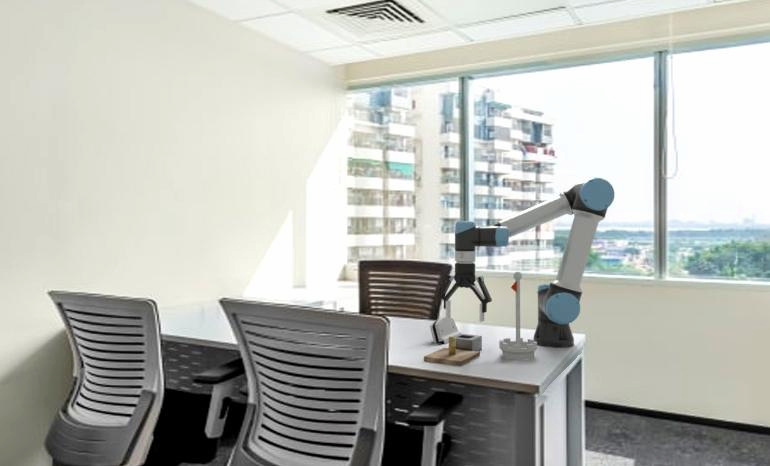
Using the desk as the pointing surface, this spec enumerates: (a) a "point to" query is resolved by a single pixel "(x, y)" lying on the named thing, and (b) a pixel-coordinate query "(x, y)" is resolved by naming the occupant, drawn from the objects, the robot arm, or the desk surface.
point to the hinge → (443, 329)
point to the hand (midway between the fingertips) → (464, 319)
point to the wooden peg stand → (452, 355)
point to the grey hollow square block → (468, 342)
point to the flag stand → (517, 334)
